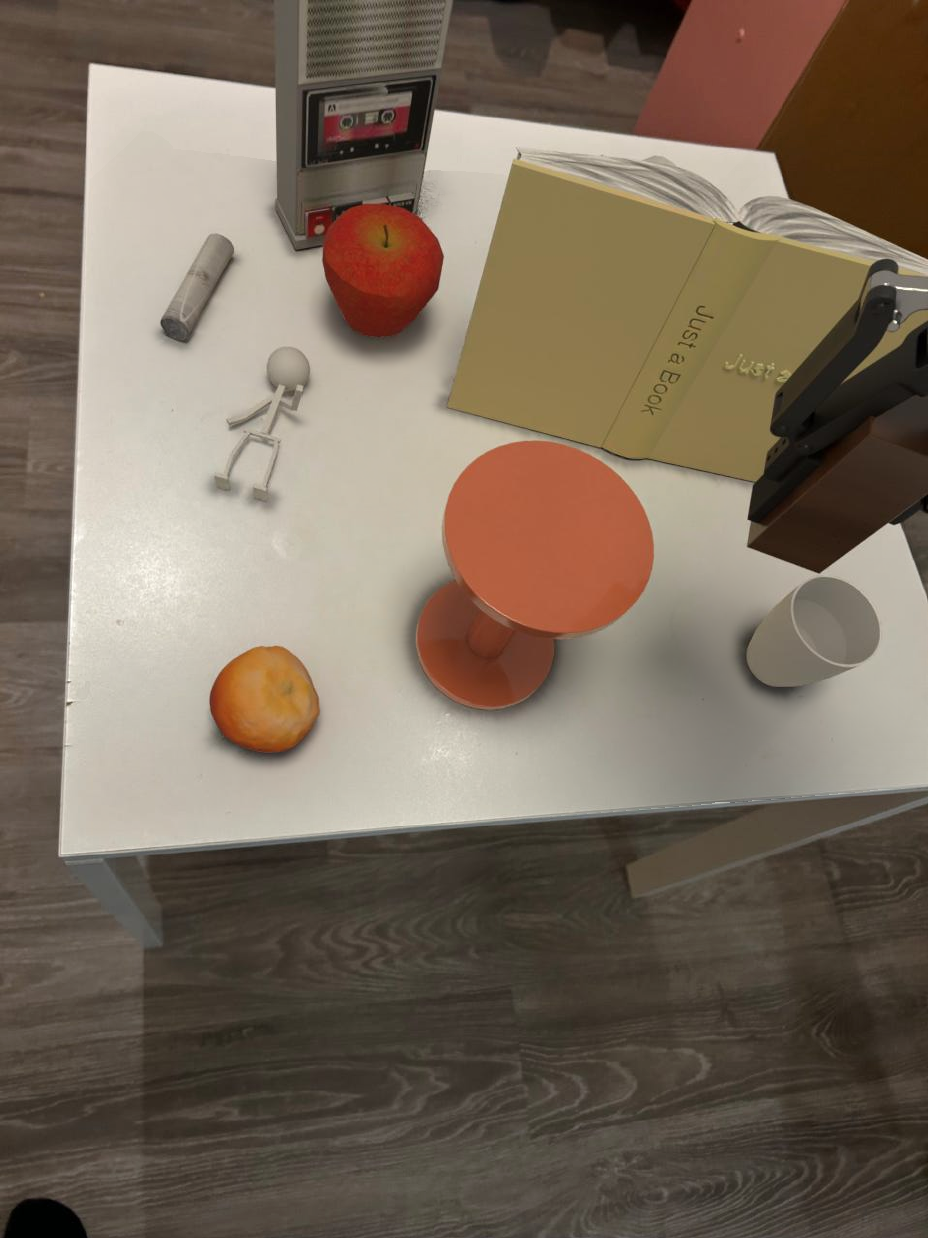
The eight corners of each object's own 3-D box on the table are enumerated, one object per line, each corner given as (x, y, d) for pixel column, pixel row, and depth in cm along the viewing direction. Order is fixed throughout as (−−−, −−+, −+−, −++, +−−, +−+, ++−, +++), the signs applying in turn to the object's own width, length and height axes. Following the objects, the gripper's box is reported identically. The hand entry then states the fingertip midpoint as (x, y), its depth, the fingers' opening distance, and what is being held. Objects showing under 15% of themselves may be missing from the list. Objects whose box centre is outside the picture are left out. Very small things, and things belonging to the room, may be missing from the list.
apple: (360, 383, 79) (372, 289, 68) (297, 306, 81) (298, 202, 70) (449, 340, 83) (474, 245, 72) (387, 267, 85) (402, 164, 74)
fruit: (186, 662, 63) (237, 627, 58) (276, 675, 69) (330, 644, 63) (185, 765, 60) (238, 738, 55) (279, 770, 66) (336, 746, 60)
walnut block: (819, 574, 51) (961, 470, 40) (746, 547, 51) (869, 434, 40) (826, 510, 53) (963, 394, 43) (756, 484, 53) (876, 360, 42)
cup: (808, 628, 78) (876, 583, 69) (815, 709, 75) (888, 673, 66) (728, 614, 77) (787, 567, 68) (732, 696, 73) (794, 658, 64)
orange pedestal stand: (540, 744, 68) (631, 663, 50) (381, 688, 67) (415, 586, 49) (577, 601, 74) (671, 483, 56) (431, 548, 73) (479, 411, 55)
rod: (208, 249, 81) (206, 227, 79) (235, 259, 81) (233, 237, 79) (160, 336, 76) (156, 315, 74) (189, 346, 77) (185, 325, 74)
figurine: (196, 453, 67) (255, 310, 72) (205, 488, 72) (259, 353, 78) (270, 476, 67) (324, 332, 72) (273, 508, 73) (323, 373, 78)
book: (444, 414, 79) (511, 169, 58) (453, 361, 83) (519, 114, 63) (791, 498, 83) (966, 298, 63) (783, 443, 88) (945, 239, 67)
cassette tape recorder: (296, 253, 83) (299, -12, 61) (275, 210, 85) (270, -64, 62) (419, 230, 88) (464, -24, 65) (396, 189, 90) (433, -72, 67)
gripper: (1349, 230, 32) (930, 520, 53) (934, 58, 31) (674, 423, 52) (1386, 370, 29) (925, 619, 50) (926, 183, 28) (652, 519, 49)
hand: (798, 519), depth 51 cm, fingers closed on walnut block, 5 cm apart
